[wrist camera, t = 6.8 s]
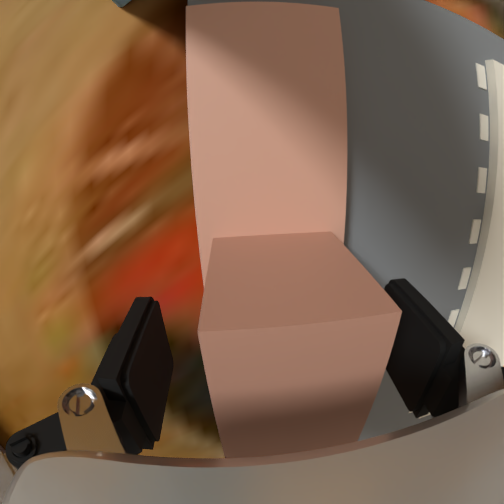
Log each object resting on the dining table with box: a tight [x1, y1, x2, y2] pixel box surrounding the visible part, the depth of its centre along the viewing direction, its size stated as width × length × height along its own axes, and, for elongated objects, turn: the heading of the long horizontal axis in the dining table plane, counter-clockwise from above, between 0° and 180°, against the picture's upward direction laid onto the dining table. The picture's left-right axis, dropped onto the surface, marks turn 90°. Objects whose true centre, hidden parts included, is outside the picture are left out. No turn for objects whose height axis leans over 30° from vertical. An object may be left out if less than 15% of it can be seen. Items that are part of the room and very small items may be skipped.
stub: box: [186, 2, 402, 458], centre depth 9 cm, size 22×5×6 cm, turn 2°
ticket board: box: [188, 0, 504, 441], centre depth 12 cm, size 26×22×2 cm
